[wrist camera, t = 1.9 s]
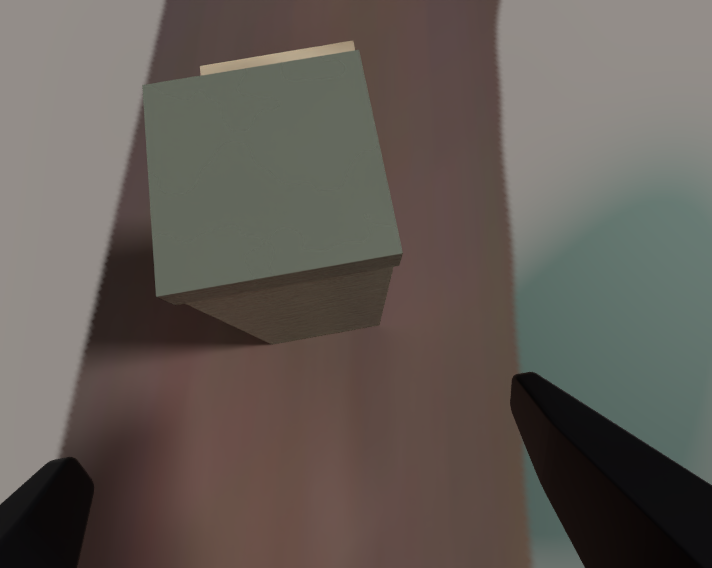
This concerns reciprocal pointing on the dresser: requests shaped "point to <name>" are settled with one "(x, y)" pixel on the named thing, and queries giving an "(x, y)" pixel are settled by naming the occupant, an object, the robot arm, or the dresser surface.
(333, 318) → the green lidded box
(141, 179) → the dresser surface
